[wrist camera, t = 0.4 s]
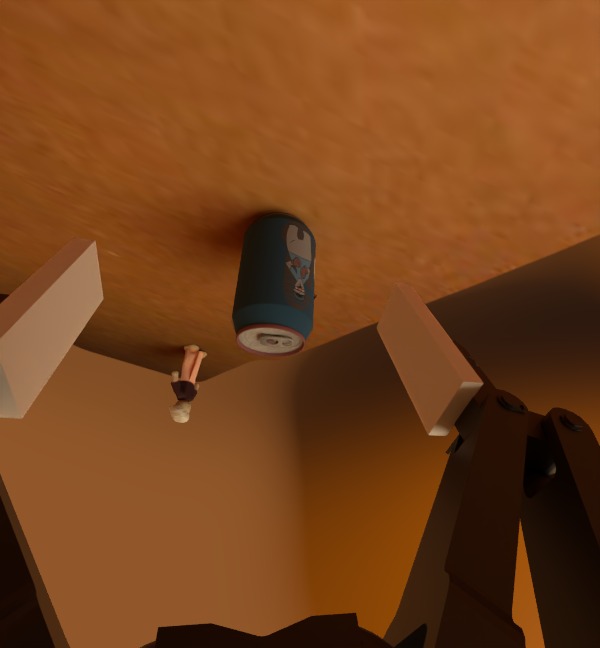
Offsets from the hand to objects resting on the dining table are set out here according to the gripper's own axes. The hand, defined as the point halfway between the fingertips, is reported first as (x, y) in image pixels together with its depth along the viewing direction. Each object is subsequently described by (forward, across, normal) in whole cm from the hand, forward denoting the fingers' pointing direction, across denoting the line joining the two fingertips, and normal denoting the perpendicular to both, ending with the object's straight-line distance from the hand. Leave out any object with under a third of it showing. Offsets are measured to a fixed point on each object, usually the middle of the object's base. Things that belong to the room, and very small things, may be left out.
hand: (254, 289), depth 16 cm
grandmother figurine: (+34, -6, -33) cm, 48 cm away
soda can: (+19, +3, -4) cm, 20 cm away
